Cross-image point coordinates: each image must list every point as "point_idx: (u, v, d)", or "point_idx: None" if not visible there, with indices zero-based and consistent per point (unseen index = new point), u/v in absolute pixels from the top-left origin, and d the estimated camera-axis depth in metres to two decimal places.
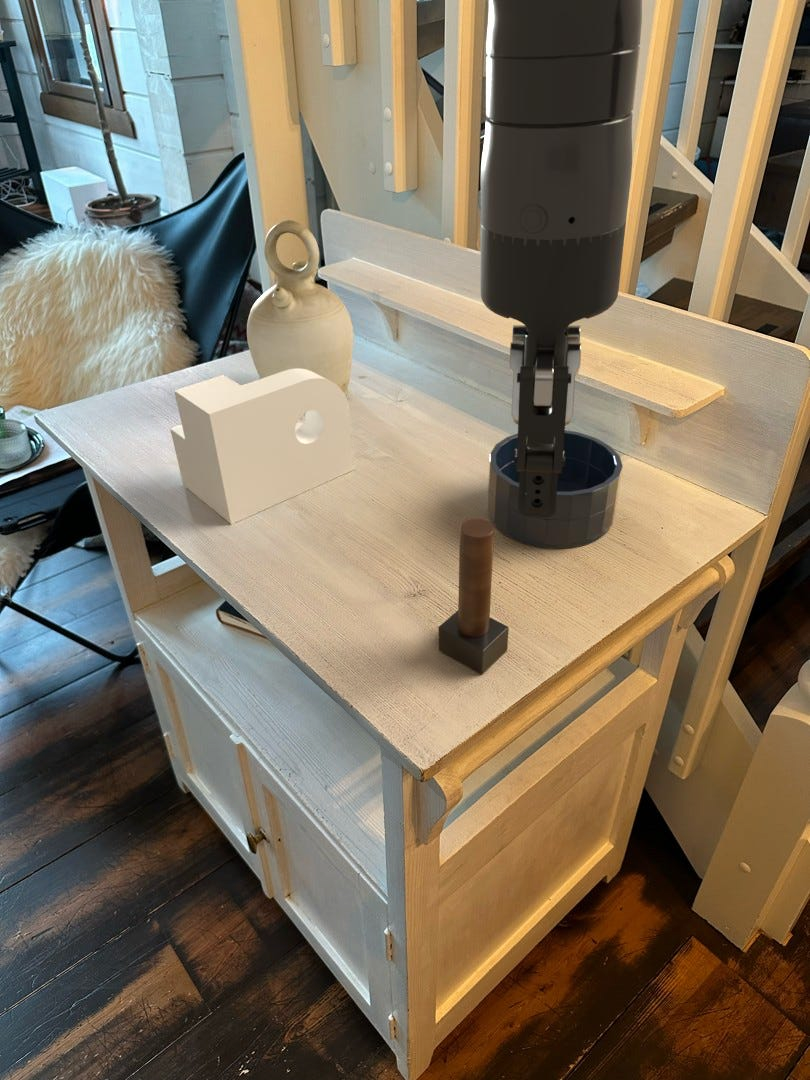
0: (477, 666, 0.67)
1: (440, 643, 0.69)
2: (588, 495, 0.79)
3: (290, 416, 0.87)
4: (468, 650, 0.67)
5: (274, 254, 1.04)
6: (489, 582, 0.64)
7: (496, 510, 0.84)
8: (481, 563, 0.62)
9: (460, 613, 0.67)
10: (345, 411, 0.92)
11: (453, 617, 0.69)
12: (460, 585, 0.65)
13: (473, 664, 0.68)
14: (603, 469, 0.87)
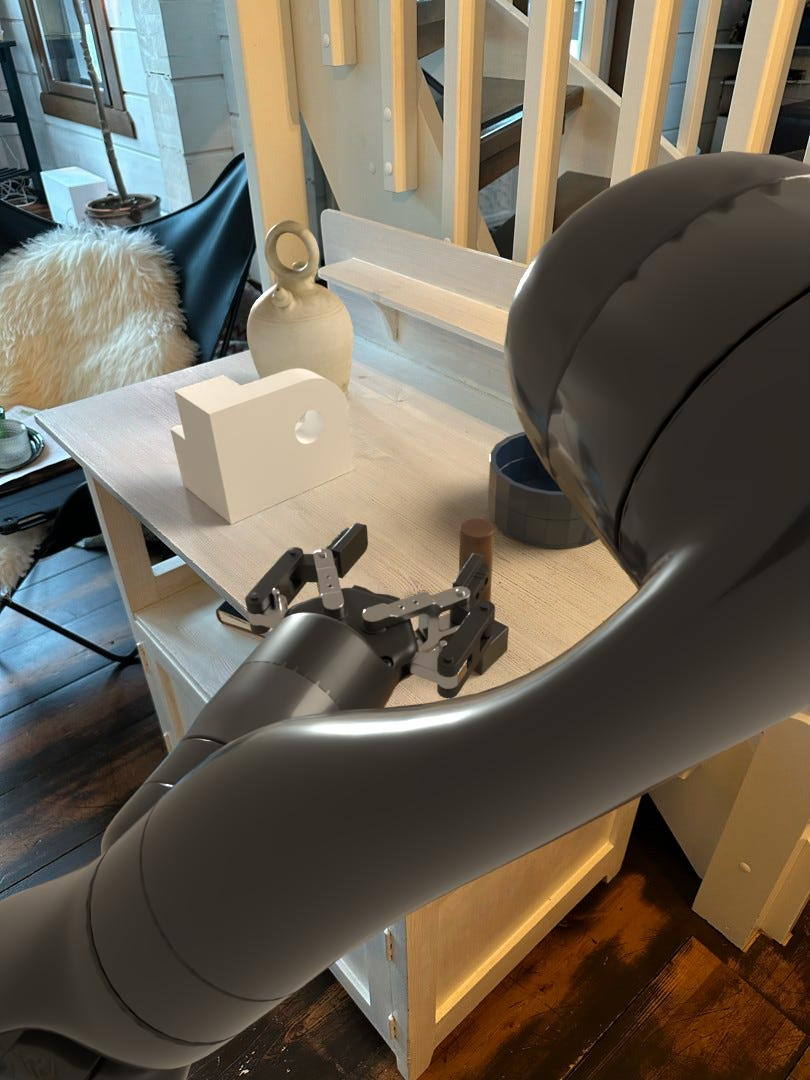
0: (477, 666, 0.67)
1: None
2: None
3: (290, 416, 0.87)
4: None
5: (274, 254, 1.04)
6: (489, 582, 0.64)
7: (496, 510, 0.84)
8: None
9: None
10: (345, 411, 0.92)
11: None
12: None
13: None
14: None
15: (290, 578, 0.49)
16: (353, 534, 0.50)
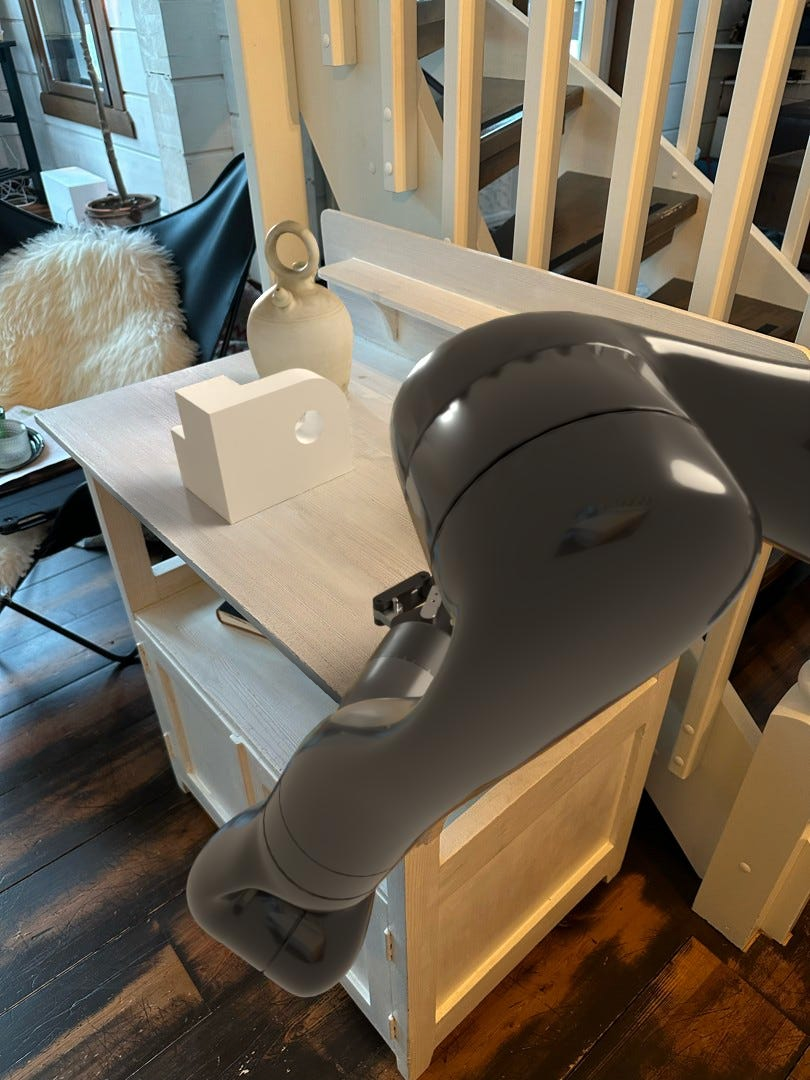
0: None
1: None
2: None
3: (290, 416, 0.87)
4: None
5: (274, 254, 1.04)
6: None
7: None
8: None
9: None
10: (345, 411, 0.92)
11: None
12: None
13: None
14: None
15: (417, 593, 0.66)
16: None
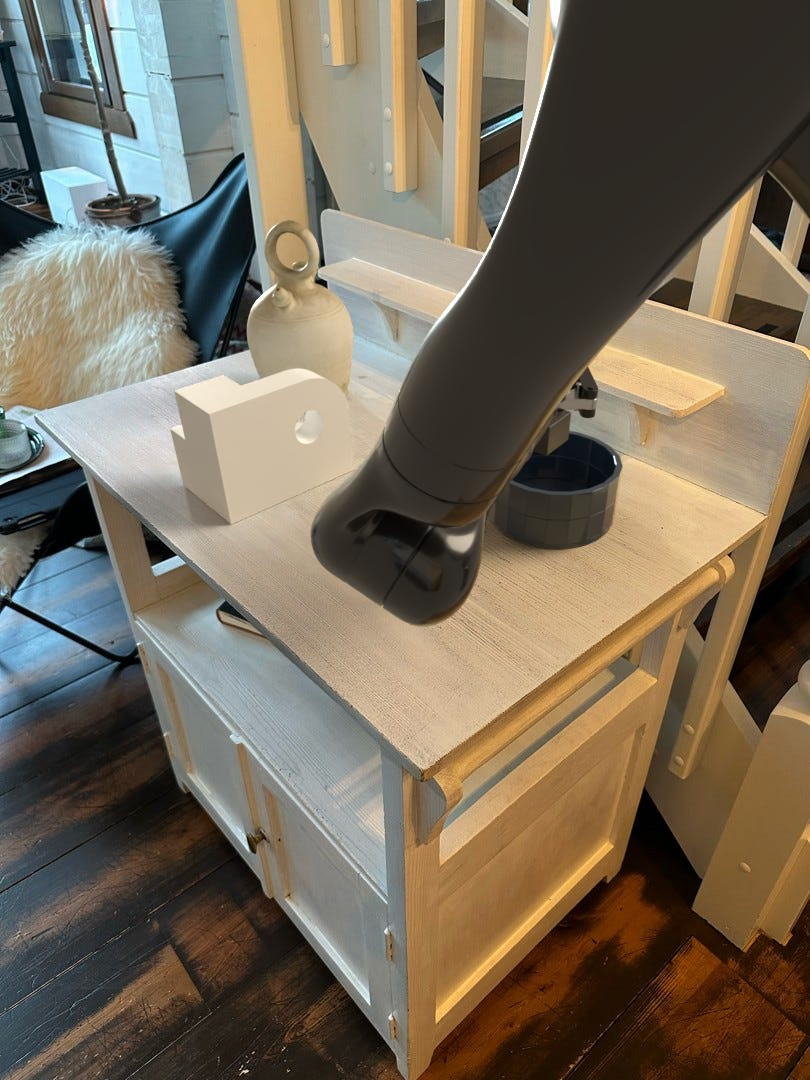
0: (542, 446, 0.71)
1: None
2: (588, 495, 0.79)
3: (290, 416, 0.87)
4: None
5: (274, 254, 1.04)
6: None
7: (496, 510, 0.84)
8: None
9: None
10: (345, 411, 0.92)
11: None
12: None
13: (537, 446, 0.71)
14: (603, 469, 0.87)
15: None
16: None
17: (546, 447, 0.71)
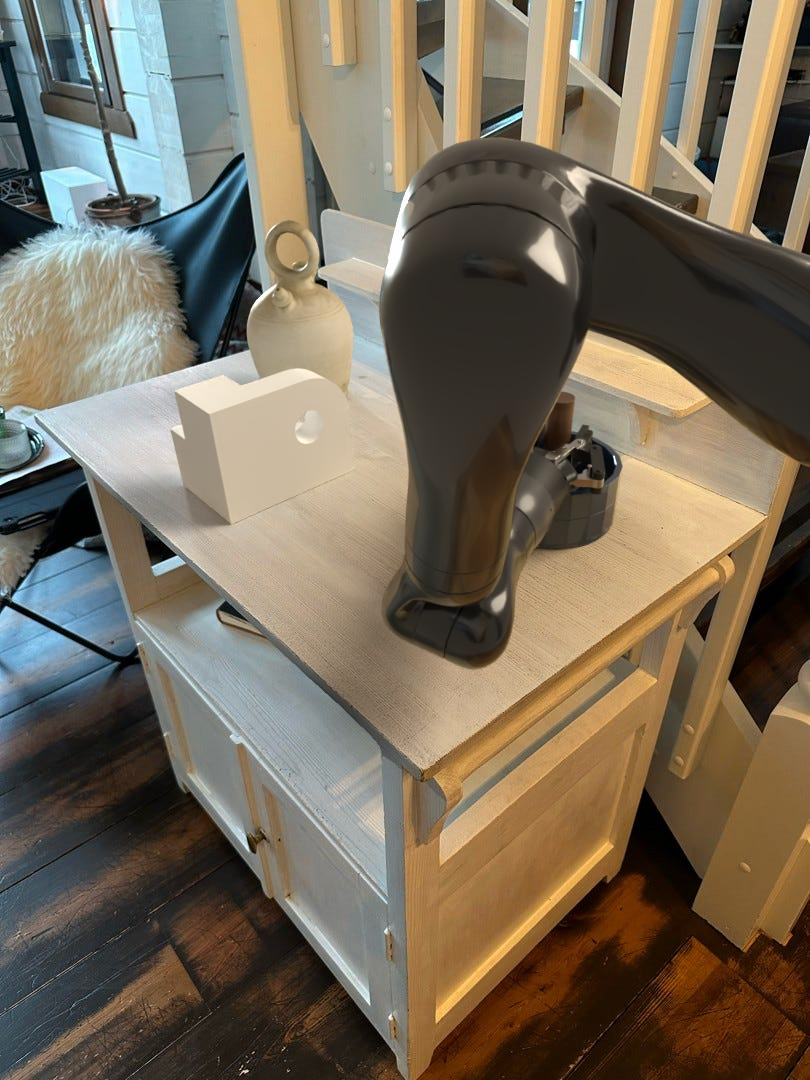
0: None
1: None
2: (588, 495, 0.79)
3: (290, 416, 0.87)
4: None
5: (274, 254, 1.04)
6: None
7: None
8: (564, 426, 0.80)
9: None
10: (345, 411, 0.92)
11: None
12: (545, 447, 0.82)
13: None
14: None
15: None
16: None
17: None
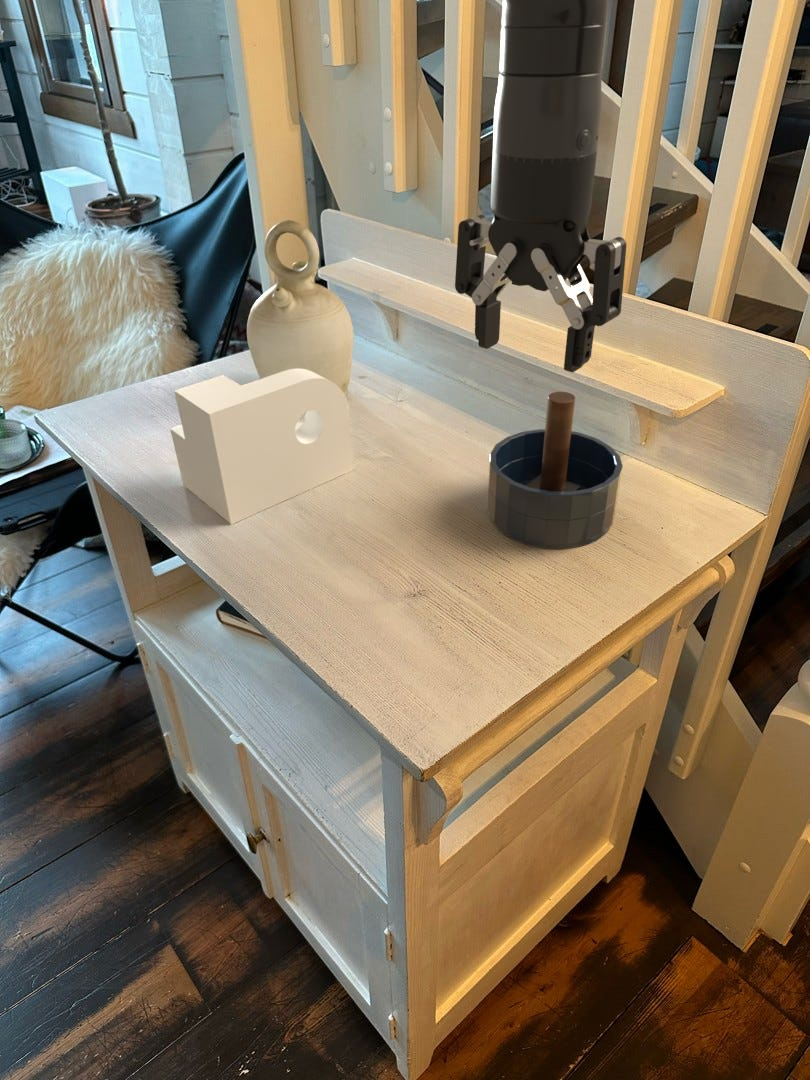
0: None
1: None
2: (588, 495, 0.79)
3: (290, 416, 0.87)
4: None
5: (274, 254, 1.04)
6: (569, 444, 0.82)
7: (496, 510, 0.84)
8: (564, 426, 0.80)
9: (543, 472, 0.84)
10: (345, 411, 0.92)
11: (535, 480, 0.87)
12: (545, 447, 0.82)
13: None
14: (603, 469, 0.87)
15: None
16: (498, 324, 0.66)
17: None
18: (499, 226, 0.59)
